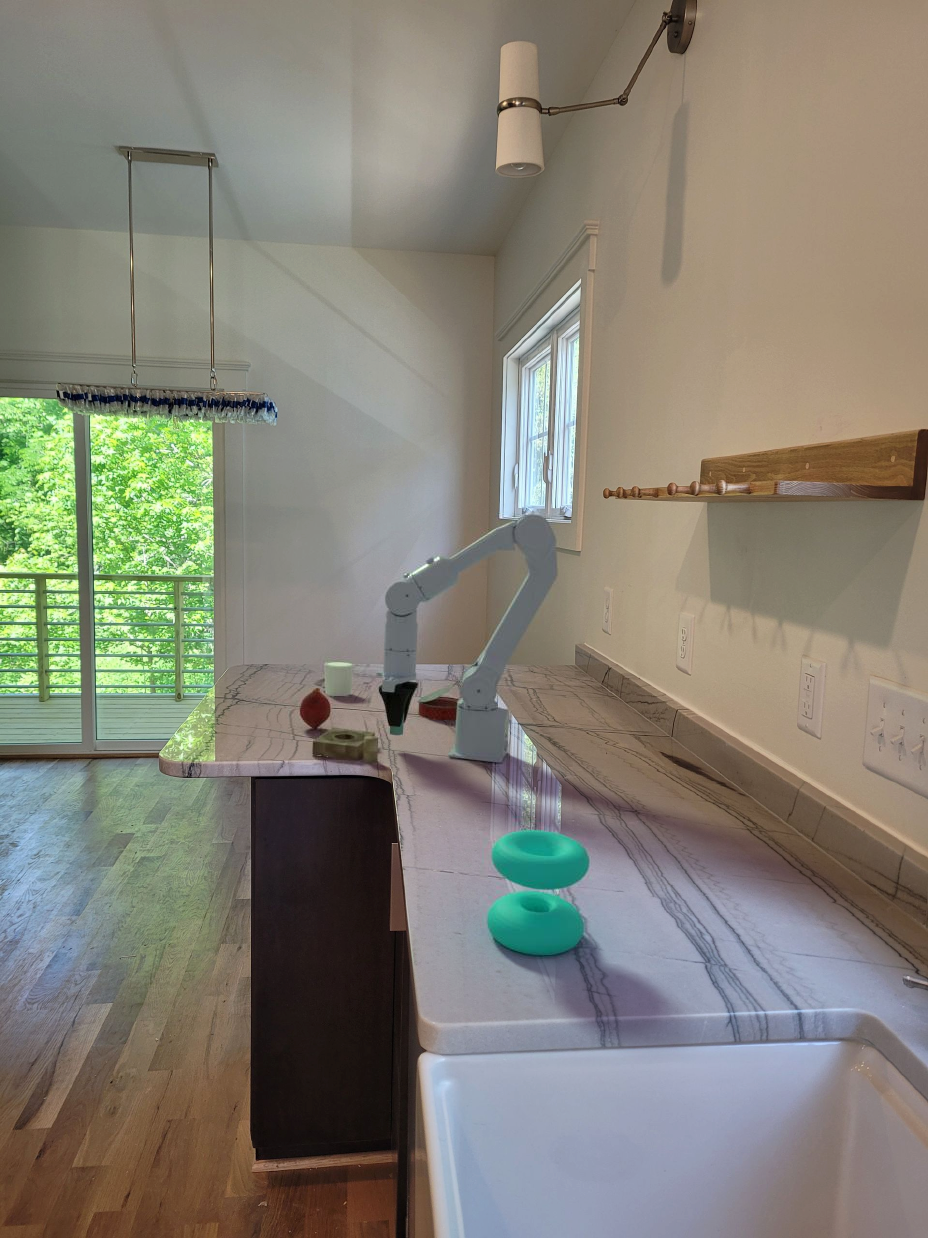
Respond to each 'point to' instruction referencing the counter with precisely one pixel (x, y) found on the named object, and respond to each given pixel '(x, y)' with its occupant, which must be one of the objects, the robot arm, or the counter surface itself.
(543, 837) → the donuts
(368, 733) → the board
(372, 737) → the short dowel
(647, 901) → the counter surface
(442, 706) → the canned food
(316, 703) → the onion
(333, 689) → the white short cylinder
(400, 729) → the long dowel
